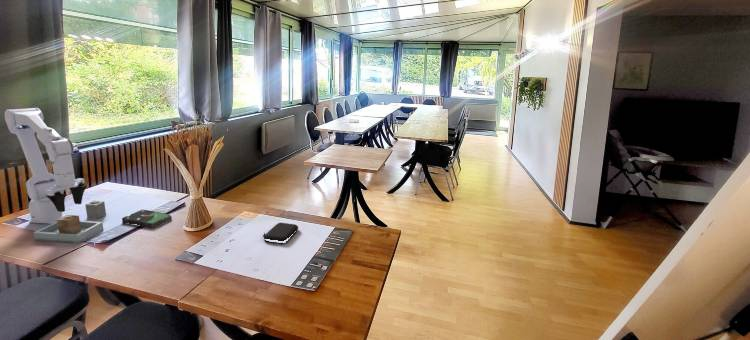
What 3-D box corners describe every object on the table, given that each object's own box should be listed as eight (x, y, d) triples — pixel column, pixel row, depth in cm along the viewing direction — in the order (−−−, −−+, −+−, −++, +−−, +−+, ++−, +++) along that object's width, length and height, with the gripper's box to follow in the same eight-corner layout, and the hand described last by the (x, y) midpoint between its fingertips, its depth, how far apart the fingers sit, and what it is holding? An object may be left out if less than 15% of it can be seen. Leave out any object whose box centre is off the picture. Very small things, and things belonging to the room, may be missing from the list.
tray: (34, 240, 137) (33, 232, 136) (62, 226, 148) (61, 219, 148) (78, 243, 136) (77, 235, 136) (103, 229, 148) (102, 222, 147)
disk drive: (122, 224, 154) (153, 229, 151) (121, 218, 154) (152, 223, 150) (143, 215, 164) (172, 220, 161) (142, 209, 163) (171, 213, 160)
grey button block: (87, 218, 157) (85, 204, 155) (95, 213, 161) (93, 200, 159) (98, 218, 157) (96, 204, 155) (106, 214, 161) (104, 201, 159)
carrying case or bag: (275, 227, 159) (258, 242, 145) (275, 220, 159) (258, 235, 145) (300, 230, 158) (285, 246, 144) (300, 223, 157) (285, 239, 143)
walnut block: (59, 234, 140) (56, 219, 138) (69, 229, 144) (66, 214, 143) (71, 235, 140) (68, 220, 138) (81, 230, 144) (78, 215, 143)
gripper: (57, 179, 132) (64, 215, 136) (90, 167, 146) (95, 201, 150) (37, 177, 133) (44, 214, 136) (72, 166, 147) (77, 200, 150)
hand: (69, 207), depth 143 cm, fingers open, 7 cm apart
